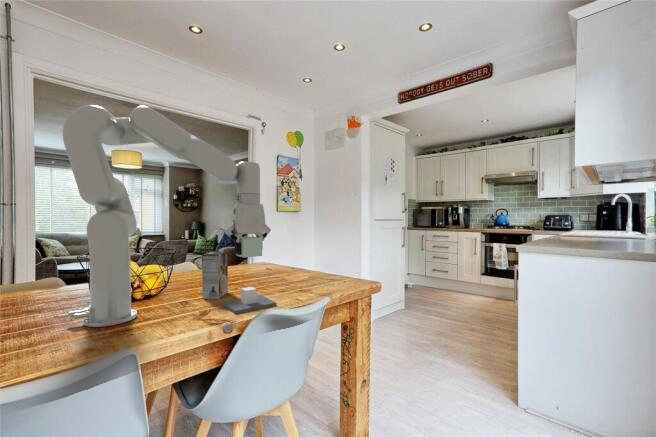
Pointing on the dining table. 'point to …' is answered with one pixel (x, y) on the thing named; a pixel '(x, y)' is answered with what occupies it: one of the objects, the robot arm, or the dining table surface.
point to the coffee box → (214, 274)
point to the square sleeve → (251, 247)
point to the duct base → (248, 307)
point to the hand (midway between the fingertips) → (248, 253)
